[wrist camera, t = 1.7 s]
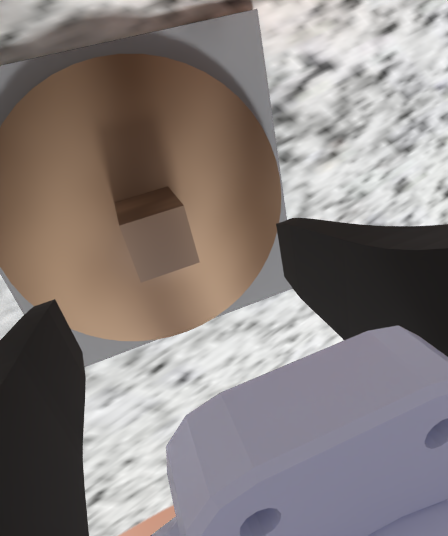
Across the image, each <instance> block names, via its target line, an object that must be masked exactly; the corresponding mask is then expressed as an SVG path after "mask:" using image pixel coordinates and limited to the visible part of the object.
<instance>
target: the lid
mask: <svg viewBox="0 0 448 536" xmlns="http://www.w3.org/2000/svg"><path fill="white" fill-rule="evenodd" d="M280 214H281V184H280V176H279V171H278V166H277V161H276V158H275V156H274V153H273V150H272V147H271V144H270V142H269V140H268V138H267V136H266V134H265V132H264V130H263V128H262V126H261V125H260V123H259V122H258V120H257V119H256V117H255V116H254V115H253V113H252V112H251V110H250V109H249V108H248V107H247V106H246V105H245V104H244V103H243V101H242V100H241V99H240V98H239V97H238V96H237V95H236V94H234V93H233V92H232V91H231V90H230V89H229V88H227V87H226V86H225V85H224V84H223V83H221V82H220V81H218V80H216V79H215V78H213V77H212V76H210V75H209V74H207V73H206V72H203V71H201V70H199V69H197V68H195V67H193V66H190V65H188V64H186V63H183V62H179V61H176V60H173V59H169V58H166V57H161V56H154V55H147V54H114V55H107V56H101V57H95V58H92V59H89V60H85V61H82V62H79V63H76V64H73V65H71V66H69V67H67V68H65V69H63V70H61V71H59V72H57V73H54V74H52V75H51V76H49V77H48V78H47V79H45V80H44V81H42V82H41V83H40V84H38V85H37V86H35V87H34V88H32V89H31V90H30V91H29V92H28V93H27V94H26V95H25V96H24V97H23V98H22V99H21V100H20V101H19V102H18V103H17V104H16V105H15V107H14V108H13V109H12V111H11V112H10V113H9V115H8V116H7V117H6V119H5V120H4V122H3V123H2V125H1V127H0V267H1V269H2V270H3V272H4V273H5V275H6V276H7V278H8V279H9V281H10V282H11V284H12V285H13V286H14V287H15V288H16V289H17V290H18V291H19V293H20V294H21V295H22V296H23V297H24V298H25V299H26V300H27V301H28V302H30V303H31V304H32V305H33V306H36V305H39V304H42V303H45V302H48V301H51V300H54V299H55V300H56V302H57V304H58V306H59V308H60V310H61V311H62V313H63V315H64V317H65V319H66V321H67V323H68V325H69V327H70V329H72V330H75V331H78V332H81V333H84V334H86V335H90V336H94V337H98V338H103V339H109V340H117V341H147V340H156V339H161V338H166V337H171V336H174V335H177V334H180V333H183V332H187V331H189V330H191V329H194V328H196V327H198V326H200V325H202V324H204V323H206V322H208V321H209V320H211V319H213V318H215V317H216V316H218V315H219V314H220V313H222V312H223V311H224V310H226V309H227V308H229V307H230V306H231V305H232V304H233V303H234V302H235V301H236V300H237V299H239V298H240V297H241V296H242V294H243V293H244V292H245V291H246V290H247V289H248V288H249V287H250V285H251V284H252V283H253V281H254V280H255V278H256V277H257V276H258V274H259V273H260V271H261V269H262V268H263V266H264V264H265V262H266V260H267V259H268V256H269V254H270V251H271V249H272V247H273V244H274V241H275V237H276V234H277V227H276V224H277V223H279V220H280Z"/></svg>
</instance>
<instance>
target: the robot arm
mask: <svg viewBox="0 0 448 536" xmlns="http://www.w3.org/2000/svg"><path fill="white" fill-rule="evenodd" d="M276 227H277V234H278V240H279V247H280V253H281V259H282V266H283V272H284V277H285V278H286V280H287V281H288V283H289V284H290V285H291V287H292V288H293V289H294V291H295V292H296V293H297V294H298V296H299V297H300V298H301V299H302V300H303V301H304V302H305V303H306V304H307V305H308V306H309V307H310V308H311V309H312V310H313V311H314V312H315V313H317V314H318V315H319V316H320V317H321V318H322V319H323V320H324V321H325V322H326V323H327V324H328V325H329V326H330V327H331V328H332V329H333V330H334V331H335V332H336V333H338V334H339V335H340V336H341V337H342V338H343V339H344V341H342V342H340V343H337V344H335V345H332V346H330V347H328V348H325V349H323V350H320V351H318V352H316V353H313V354H311V355H309V356H306V357H304V358H301V359H299V360H297V361H294V362H292V363H290V364H287V365H285V366H282V367H280V368H278V369H275V370H273V371H271V372H268V373H266V374H263V375H261V376H259V377H256V378H254V379H252V380H249V381H247V382H244V383H242V384H240V385H237V386H235V387H233V388H230V389H228V390H225V391H223V392H221V393H219V394H217V395H216V396H214V397H213V398H211V399H210V400H208V401H207V402H205V403H204V404H202V405H201V406H199V407H198V408H196V409H195V410H193V411H192V412H190V413H189V414H187V415H186V416H185V418H184V419H183V421H182V422H181V424H180V426H179V427H178V429H177V430H176V432H175V433H174V435H173V436H172V438H171V440H170V441H169V443H168V444H167V446H166V453H167V475H168V480H169V484H170V489H171V494H172V499H173V504H174V508H175V513H176V517H174V518H173V519H172V520H171V521H169V522H168V523H167V524H165V525H164V526H163V527H161V528H160V529H159V530H157V531H156V532H155V533H153V534H152V535H151V536H448V224H447V225H433V226H411V227H408V226H372V225H359V224H349V223H340V222H332V221H325V220H317V219H307V218H292V219H289V220H286V221H283V222H280V223H277V224H276ZM85 381H86V379H85V368H84V360H83V352H82V350H81V348H80V346H79V344H78V342H77V340H76V338H75V336H74V334H73V333H72V331H71V329H70V327H69V325H68V323H67V321H66V319H65V317H64V315H63V313H62V311H61V310H60V308H59V306H58V304H57V302H56V300H55V299H54V300H51V301H48V302H45V303H42V304H39V305H36V306H34V307H33V308H31V309H30V310H29V311H28V312H27V313H26V314H25V315H24V316H23V317H22V318H21V319H20V320H19V321H18V322H17V323H16V324H15V325H14V326H13V327H12V328H11V330H10V331H9V332H8V333H7V334H6V335H5V336H4V337H3V338H2V339H1V340H0V536H89V532H88V521H87V510H86V500H85V487H84V473H83V426H84V406H85Z"/></svg>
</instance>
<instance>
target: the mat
mask: <svg viewBox="0 0 448 536" xmlns="http://www.w3.org/2000/svg"><path fill="white" fill-rule="evenodd" d="M114 54H147V55H154V56H161V57H166V58H169V59H173V60H176V61H179V62H183V63H186V64H188V65H190V66H193V67H195V68H197V69H199V70H201V71H203V72H206V73H207V74H209V75H210V76H212V77H213V78H215V79H216V80H218V81H220V82H221V83H223V84H224V85H225V86H226V87H227V88H229V89H230V90H231V91H232V92H233V93H234V94H236V95H237V96H238V97H239V98H240V99H241V100H242V101H243V103H244V104H245V105H246V106H247V107H248V108H249V109H250V110H251V112H252V113H253V115H254V116H255V117H256V119H257V120H258V122H259V123H260V125H261V126H262V128H263V130H264V132H265V134H266V136H267V138H268V140H269V142H270V144H271V147H272V150H273V153H274V156H275V158H276V161H277V166H278V171H279V176H280V184H281V214H280V220H279V223H280V222H283V221H286V220H287V217H286V210H285V203H284V196H283V188H282V181H281V174H280V167H279V160H278V153H277V146H276V139H275V132H274V124H273V117H272V110H271V103H270V96H269V89H268V82H267V75H266V68H265V61H264V53H263V46H262V39H261V32H260V25H259V18H258V11H257V9H255V10H250V11H246V12H241V13H237V14H232V15H228V16H223V17H218V18H214V19H209V20H205V21H200V22H196V23H191V24H187V25H182V26H178V27H173V28H169V29H164V30H160V31H155V32H151V33H146V34H141V35H137V36H132V37H128V38H123V39H119V40H114V41H110V42H105V43H101V44H96V45H92V46H87V47H83V48H78V49H73V50H69V51H64V52H60V53H55V54H51V55H46V56H42V57H37V58H33V59H28V60H24V61H19V62H15V63H10V64H5V65H1V66H0V127H1V125H2V123H3V122H4V120H5V119H6V117H7V116H8V115H9V113H10V112H11V111H12V109H13V108H14V107H15V105H16V104H17V103H18V102H19V101H20V100H21V99H22V98H23V97H24V96H25V95H26V94H27V93H28V92H29V91H30V90H31V89H32V88H34V87H35V86H37V85H38V84H40V83H41V82H42V81H44V80H45V79H47V78H48V77H49V76H51V75H52V74H54V73H57V72H59V71H61V70H63V69H65V68H67V67H69V66H71V65H73V64H76V63H79V62H82V61H85V60H89V59H92V58H95V57H101V56H107V55H114ZM0 274H1V276H2V278H3V279H4V281H5V283H6V284H7V286H8V288H9V290H10V291H11V293H12V295H13V296H14V298H15V300H16V302H17V303H18V305H19V307H20V308H21V310H22V312H23V314H24V315H25V314H26V313H27V312H28V311H29V310H30V309H31V308H33V307H34V306H33V305H32V304H31V303H30V302H28V301H27V300H26V299H25V298H24V297H23V296H22V295H21V294H20V293H19V291H18V290H17V289H16V288H15V287H14V286H13V285H12V284H11V282H10V281H9V279H8V278H7V276H6V275H5V273H4V272H3V270H2V269H1V267H0ZM290 289H293V288H292V287H291V285H290V284H289V283H288V281H287V280H286V278H285V277H284V272H283V266H282V259H281V253H280V247H279V240H278V234H276V237H275V241H274V244H273V247H272V249H271V251H270V254H269V256H268V259H267V260H266V262H265V264H264V266H263V268H262V269H261V271H260V273H259V274H258V276H257V277H256V278H255V280H254V281H253V283H252V284H251V285H250V287H249V288H248V289H247V290H246V291H245V292H244V293H243V294H242V296H241V297H240V298H239V299H237V300H236V301H235V302H234V303H233V304H232V305H231V306H230V307H229V308H227V309H226V310H224V311H223V312H222V313H220V314H219V315H218V316H221V315H224V314H226V313H229V312H232V311H234V310H237V309H240V308H242V307H245V306H248V305H250V304H253V303H255V302H258V301H261V300H263V299H266V298H269V297H271V296H274V295H277V294H279V293H282V292H285V291H287V290H290ZM218 316H216V317H218ZM216 317H215V318H216ZM71 331H72V333H73V334H74V336H75V338H76V340H77V342H78V344H79V346H80V348H81V350H82V352H83V360H84V367H86V366H89V365H91V364H94V363H97V362H99V361H102V360H105V359H107V358H110V357H112V356H115V355H118V354H120V353H123V352H126V351H128V350H131V349H134V348H136V347H139V346H142V345H144V344H147V343H150V342H152V341H155V340H147V341H117V340H109V339H103V338H98V337H94V336H90V335H86V334H84V333H81V332H78V331H75V330H72V329H71ZM156 340H157V339H156Z"/></svg>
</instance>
